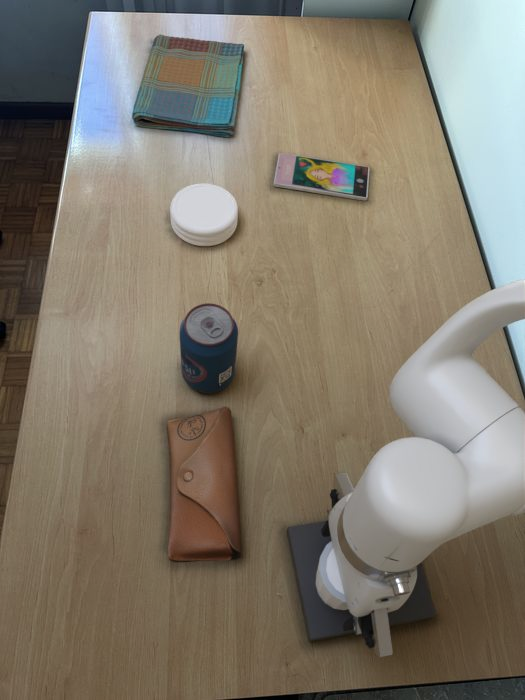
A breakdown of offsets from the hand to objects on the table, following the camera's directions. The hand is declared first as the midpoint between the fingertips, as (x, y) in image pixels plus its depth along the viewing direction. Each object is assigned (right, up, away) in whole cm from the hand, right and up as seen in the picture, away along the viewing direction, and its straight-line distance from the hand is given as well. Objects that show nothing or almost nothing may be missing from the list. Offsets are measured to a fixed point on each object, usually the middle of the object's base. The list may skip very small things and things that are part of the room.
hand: (346, 577), depth 70 cm
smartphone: (+1, +51, +37) cm, 63 cm away
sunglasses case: (-16, +8, +9) cm, 20 cm away
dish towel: (-21, +70, +46) cm, 86 cm away
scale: (+2, -1, +5) cm, 6 cm away
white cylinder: (0, -2, +3) cm, 3 cm away
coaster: (-18, +43, +30) cm, 56 cm away
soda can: (-16, +21, +17) cm, 31 cm away
